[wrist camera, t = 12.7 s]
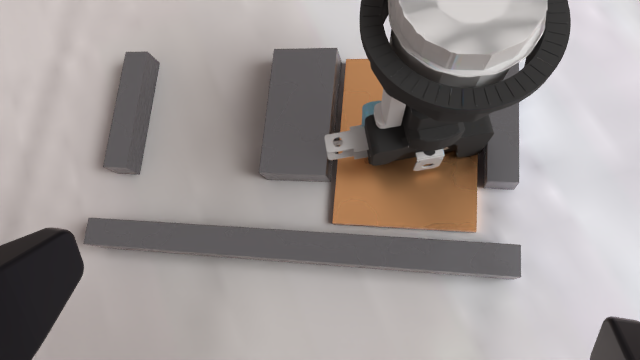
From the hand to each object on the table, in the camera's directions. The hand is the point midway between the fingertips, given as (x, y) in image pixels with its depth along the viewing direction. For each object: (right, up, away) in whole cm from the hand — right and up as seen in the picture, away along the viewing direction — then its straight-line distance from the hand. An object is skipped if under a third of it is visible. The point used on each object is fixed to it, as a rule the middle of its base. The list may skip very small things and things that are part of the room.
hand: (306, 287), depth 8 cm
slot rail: (-1, +4, +15) cm, 15 cm away
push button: (+4, +3, +13) cm, 14 cm away
